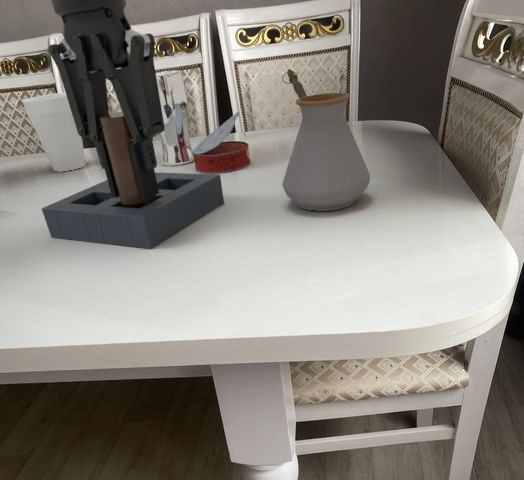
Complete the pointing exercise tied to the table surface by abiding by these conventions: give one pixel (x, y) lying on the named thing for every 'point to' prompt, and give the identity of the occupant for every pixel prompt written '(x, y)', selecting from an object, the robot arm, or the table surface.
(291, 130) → the table surface
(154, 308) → the table surface
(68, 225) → the pad base
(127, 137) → the peg
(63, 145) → the foam cup
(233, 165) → the canned food
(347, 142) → the coffee pot
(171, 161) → the beer glass
